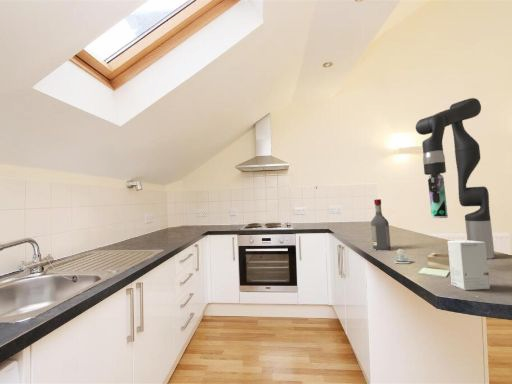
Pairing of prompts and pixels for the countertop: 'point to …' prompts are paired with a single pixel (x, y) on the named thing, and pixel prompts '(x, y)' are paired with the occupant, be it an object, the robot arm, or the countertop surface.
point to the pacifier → (401, 257)
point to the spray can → (440, 208)
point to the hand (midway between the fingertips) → (438, 202)
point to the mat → (434, 272)
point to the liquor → (380, 229)
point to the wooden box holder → (438, 261)
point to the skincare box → (468, 264)
